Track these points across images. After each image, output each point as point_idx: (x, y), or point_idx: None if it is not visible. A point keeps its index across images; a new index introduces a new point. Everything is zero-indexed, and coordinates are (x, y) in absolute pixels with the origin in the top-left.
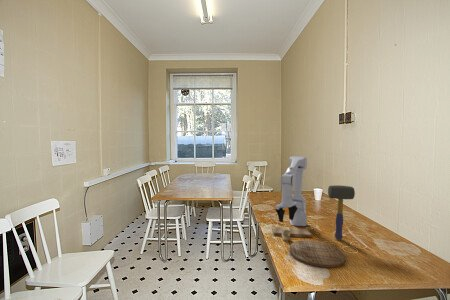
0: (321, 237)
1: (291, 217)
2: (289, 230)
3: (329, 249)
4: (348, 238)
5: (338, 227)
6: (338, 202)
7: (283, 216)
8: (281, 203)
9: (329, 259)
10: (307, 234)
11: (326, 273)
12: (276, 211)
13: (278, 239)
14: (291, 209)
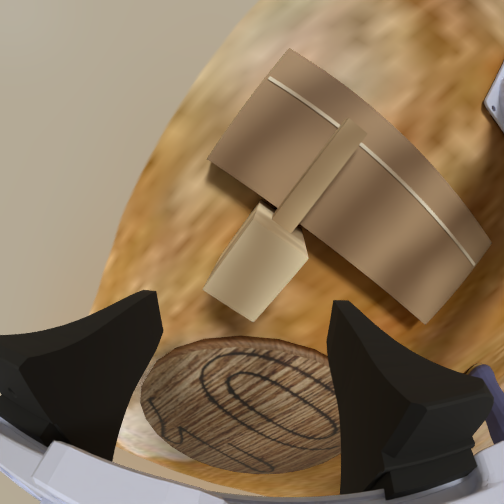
0: (452, 334)
1: (333, 353)
2: (249, 317)
3: (315, 440)
4: (497, 374)
5: (486, 418)
6: None
7: (132, 391)
8: (41, 502)
9: (239, 460)
10: (410, 311)
11: (183, 457)
12: (31, 336)
13: (196, 231)
14: (360, 445)
